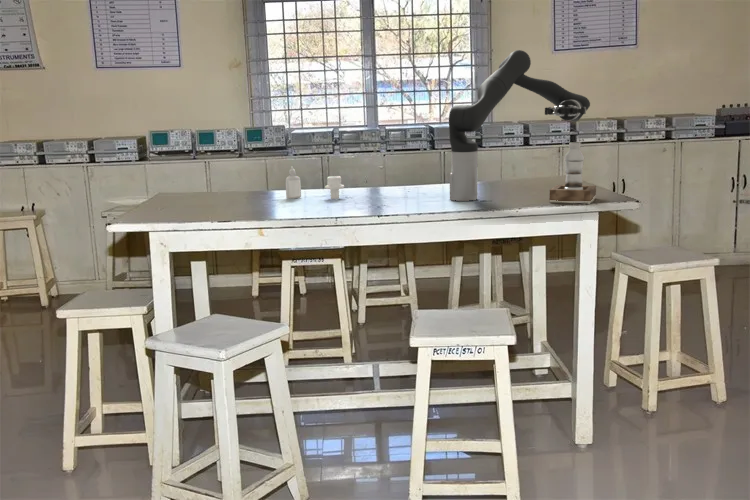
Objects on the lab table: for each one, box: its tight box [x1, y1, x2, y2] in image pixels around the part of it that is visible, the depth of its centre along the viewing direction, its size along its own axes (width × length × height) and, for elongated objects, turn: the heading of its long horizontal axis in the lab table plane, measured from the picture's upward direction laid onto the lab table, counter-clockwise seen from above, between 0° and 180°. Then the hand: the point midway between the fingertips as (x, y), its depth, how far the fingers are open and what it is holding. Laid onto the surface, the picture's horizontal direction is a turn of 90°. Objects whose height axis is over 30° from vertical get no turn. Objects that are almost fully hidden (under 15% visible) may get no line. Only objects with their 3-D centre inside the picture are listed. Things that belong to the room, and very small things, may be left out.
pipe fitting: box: [324, 175, 345, 200], centre depth 277 cm, size 6×7×8 cm
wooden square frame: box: [549, 184, 597, 201], centre depth 256 cm, size 14×14×4 cm
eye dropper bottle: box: [285, 165, 302, 200], centre depth 280 cm, size 4×6×12 cm
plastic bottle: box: [563, 141, 585, 190], centre depth 255 cm, size 6×7×20 cm
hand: (561, 111), depth 265 cm, fingers open, 8 cm apart
